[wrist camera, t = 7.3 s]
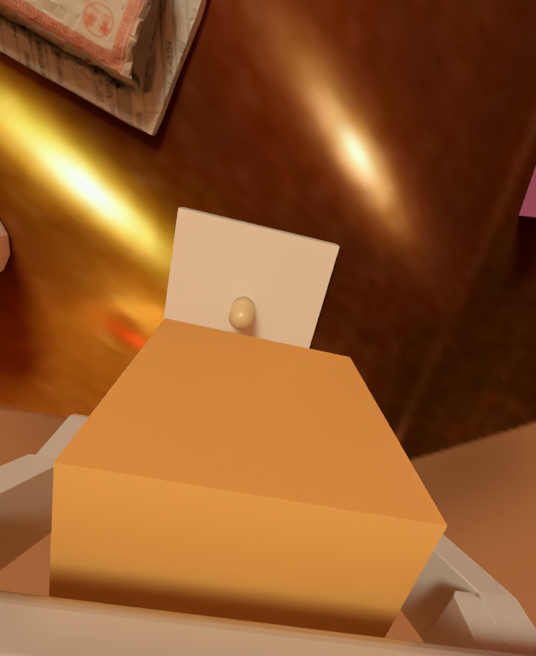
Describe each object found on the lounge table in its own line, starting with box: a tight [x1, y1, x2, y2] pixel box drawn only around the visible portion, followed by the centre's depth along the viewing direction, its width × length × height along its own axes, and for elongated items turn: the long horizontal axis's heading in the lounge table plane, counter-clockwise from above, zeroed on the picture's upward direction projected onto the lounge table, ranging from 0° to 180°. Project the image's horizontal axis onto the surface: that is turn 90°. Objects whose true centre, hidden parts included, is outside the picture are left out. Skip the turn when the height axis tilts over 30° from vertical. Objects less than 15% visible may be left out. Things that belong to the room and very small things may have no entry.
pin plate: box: [164, 207, 340, 349], centre depth 26 cm, size 12×12×6 cm
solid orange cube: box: [49, 318, 447, 638], centre depth 9 cm, size 6×6×6 cm
